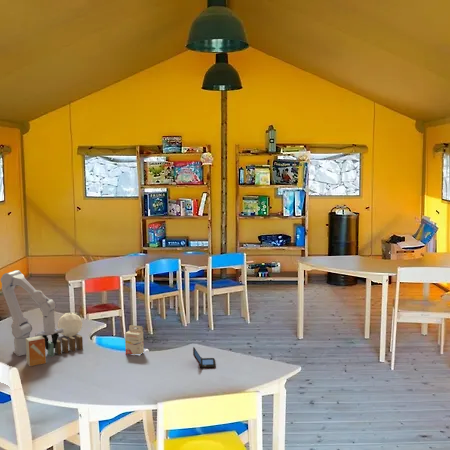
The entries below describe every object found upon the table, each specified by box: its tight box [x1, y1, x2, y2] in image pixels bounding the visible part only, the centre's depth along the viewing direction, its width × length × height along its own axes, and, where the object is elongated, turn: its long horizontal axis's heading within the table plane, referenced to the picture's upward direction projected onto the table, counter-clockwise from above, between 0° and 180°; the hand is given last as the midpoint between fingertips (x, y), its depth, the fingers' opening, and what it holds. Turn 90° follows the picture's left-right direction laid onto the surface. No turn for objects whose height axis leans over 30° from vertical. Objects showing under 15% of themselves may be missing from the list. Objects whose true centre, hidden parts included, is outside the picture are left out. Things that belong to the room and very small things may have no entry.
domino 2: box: [54, 338, 62, 356], centre depth 299 cm, size 2×5×7 cm, turn 37°
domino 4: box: [68, 336, 77, 353], centre depth 304 cm, size 2×5×7 cm, turn 37°
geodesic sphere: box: [57, 311, 83, 338], centre depth 329 cm, size 15×14×14 cm
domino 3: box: [61, 337, 70, 354], centre depth 302 cm, size 2×5×7 cm, turn 37°
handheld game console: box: [192, 346, 216, 369], centre depth 280 cm, size 12×11×7 cm
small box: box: [25, 336, 47, 367], centre depth 285 cm, size 8×6×13 cm
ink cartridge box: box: [124, 324, 145, 355], centre depth 296 cm, size 9×5×15 cm, turn 71°
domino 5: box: [75, 334, 84, 351], centre depth 306 cm, size 2×5×7 cm, turn 37°
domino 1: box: [46, 340, 55, 357], centre depth 297 cm, size 2×5×7 cm, turn 37°
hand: (50, 348), depth 297 cm, fingers open, 3 cm apart
